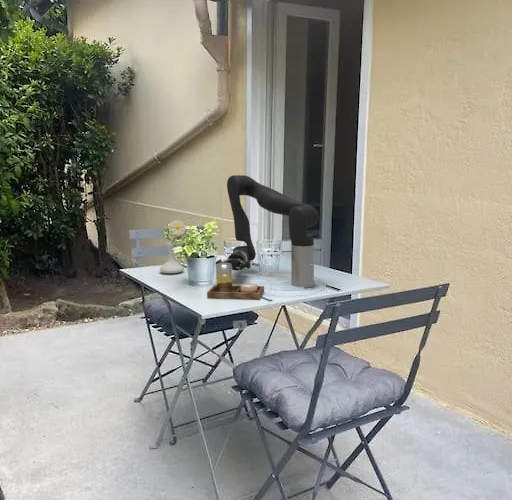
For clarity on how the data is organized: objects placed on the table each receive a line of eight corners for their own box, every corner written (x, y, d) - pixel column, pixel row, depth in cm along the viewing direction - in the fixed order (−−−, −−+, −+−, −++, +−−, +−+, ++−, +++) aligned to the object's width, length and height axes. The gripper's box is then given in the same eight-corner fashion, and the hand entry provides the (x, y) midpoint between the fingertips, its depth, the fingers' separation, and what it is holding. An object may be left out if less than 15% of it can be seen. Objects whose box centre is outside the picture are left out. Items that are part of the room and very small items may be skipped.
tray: (264, 293, 214) (264, 286, 214) (259, 301, 203) (259, 293, 202) (214, 292, 217) (214, 284, 217) (207, 299, 206) (207, 292, 205)
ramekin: (258, 293, 212) (258, 283, 211) (255, 297, 205) (255, 287, 205) (242, 293, 213) (242, 282, 212) (239, 297, 206) (239, 286, 206)
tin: (234, 292, 213) (233, 262, 211) (230, 296, 207) (229, 265, 205) (218, 292, 214) (217, 262, 212) (215, 296, 208) (214, 265, 206)
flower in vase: (157, 275, 250) (155, 221, 246) (161, 270, 261) (159, 218, 257) (186, 275, 250) (184, 221, 246) (188, 270, 262) (187, 218, 257)
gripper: (221, 251, 236) (212, 258, 220) (253, 251, 233) (247, 258, 218) (221, 268, 237) (213, 276, 221) (253, 268, 235) (247, 276, 219)
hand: (230, 267), depth 219 cm, fingers open, 8 cm apart
